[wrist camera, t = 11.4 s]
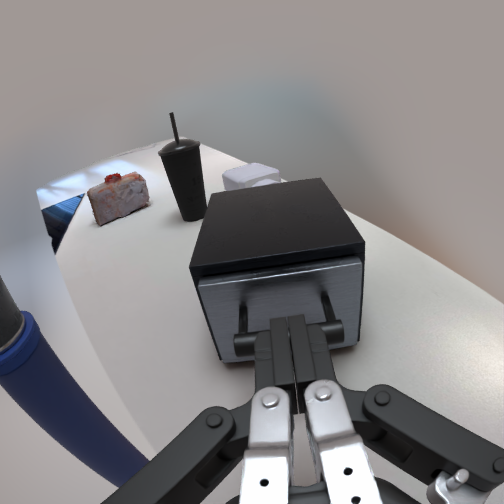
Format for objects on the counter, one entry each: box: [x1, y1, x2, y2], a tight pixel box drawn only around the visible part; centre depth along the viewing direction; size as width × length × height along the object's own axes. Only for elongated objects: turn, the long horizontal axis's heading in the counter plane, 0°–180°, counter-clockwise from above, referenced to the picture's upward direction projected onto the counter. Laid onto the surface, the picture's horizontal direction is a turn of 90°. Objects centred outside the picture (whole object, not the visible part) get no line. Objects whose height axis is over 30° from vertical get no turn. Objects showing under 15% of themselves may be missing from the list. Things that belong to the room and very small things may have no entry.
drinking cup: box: [158, 112, 207, 221], centre depth 54 cm, size 8×8×20 cm
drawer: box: [198, 255, 362, 363], centre depth 28 cm, size 19×12×8 cm, turn 1°
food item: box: [87, 172, 150, 226], centre depth 67 cm, size 14×8×10 cm, turn 128°
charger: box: [222, 163, 281, 191], centre depth 62 cm, size 5×9×15 cm
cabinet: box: [189, 178, 365, 360], centre depth 31 cm, size 16×13×10 cm
